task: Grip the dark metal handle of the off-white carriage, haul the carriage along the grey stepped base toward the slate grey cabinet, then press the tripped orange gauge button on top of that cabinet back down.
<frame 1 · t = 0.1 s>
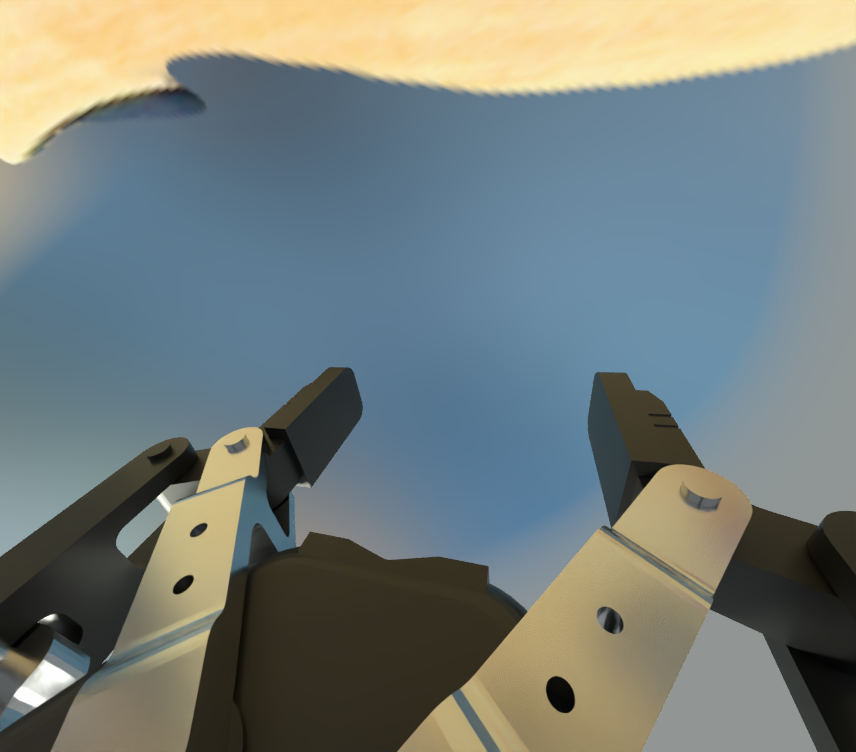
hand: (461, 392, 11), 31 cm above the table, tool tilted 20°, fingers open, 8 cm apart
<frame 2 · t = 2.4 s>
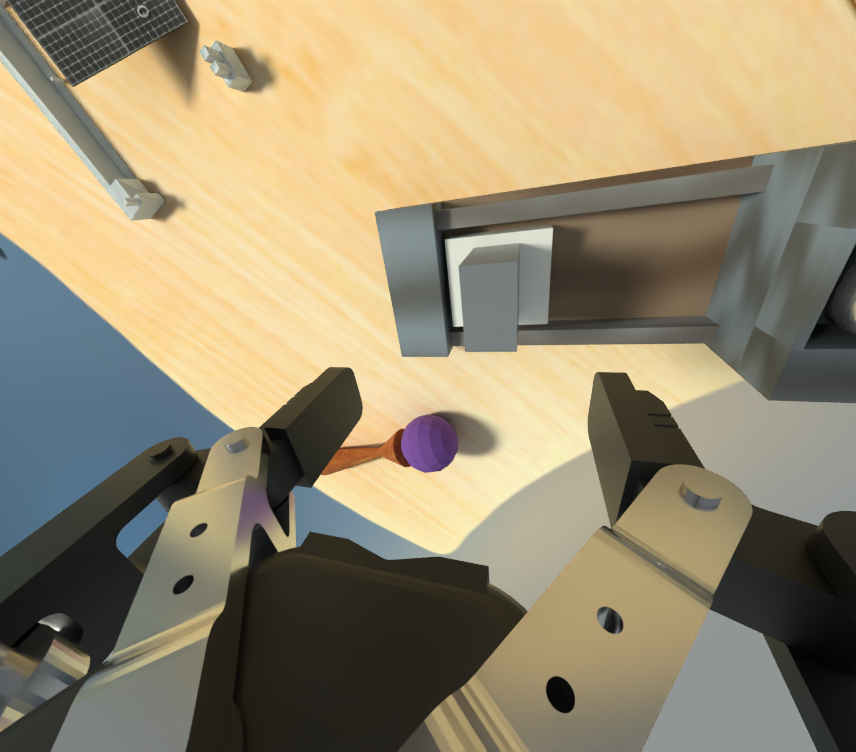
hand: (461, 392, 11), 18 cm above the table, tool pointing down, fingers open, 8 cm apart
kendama: (388, 437, 39), on the table
carriage: (495, 290, 21), point 6 cm above the table, slide at 0.0 cm
grey stepped base: (582, 264, 24), on the table
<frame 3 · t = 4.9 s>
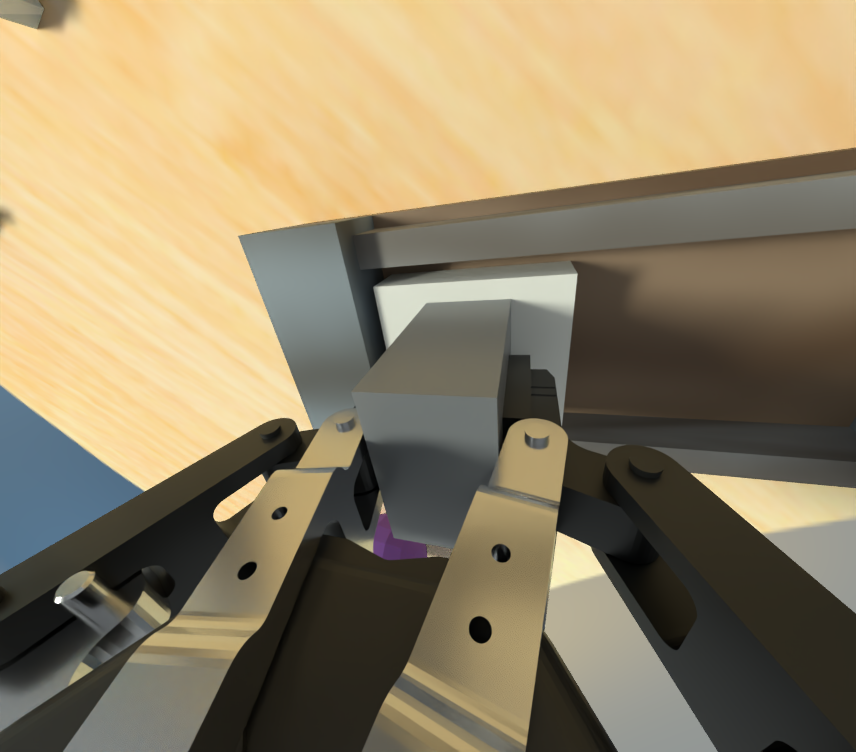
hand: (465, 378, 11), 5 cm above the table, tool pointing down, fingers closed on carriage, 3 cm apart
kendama: (339, 525, 29), on the table
carriage: (462, 391, 11), point 6 cm above the table, slide at 0.0 cm, touching gripper
grey stepped base: (620, 324, 14), on the table
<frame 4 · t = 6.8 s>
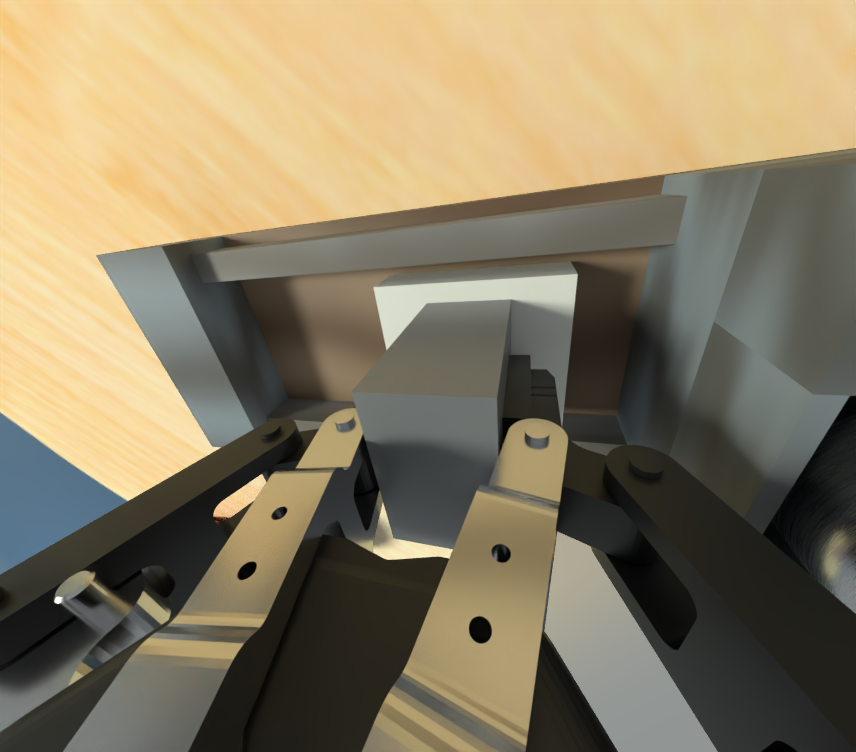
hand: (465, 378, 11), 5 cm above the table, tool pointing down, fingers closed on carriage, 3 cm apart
carriage: (462, 391, 11), point 6 cm above the table, slide at 8.0 cm, touching gripper
grey stepped base: (444, 328, 16), on the table
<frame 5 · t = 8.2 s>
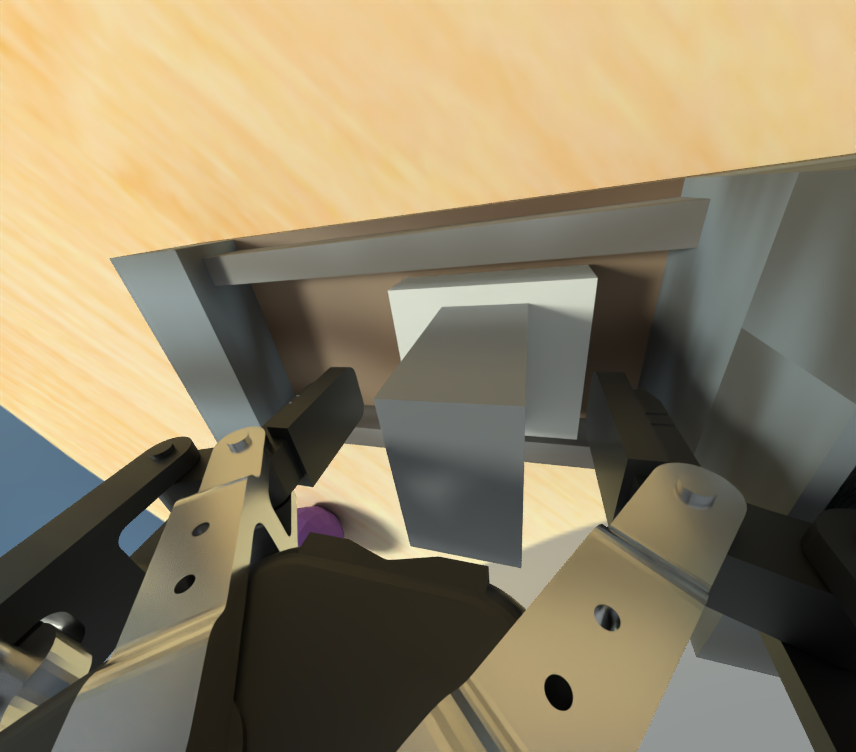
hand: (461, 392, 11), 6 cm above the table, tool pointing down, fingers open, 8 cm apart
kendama: (276, 516, 32), on the table
carriage: (478, 396, 11), point 6 cm above the table, slide at 8.0 cm
grey stepped base: (454, 331, 16), on the table
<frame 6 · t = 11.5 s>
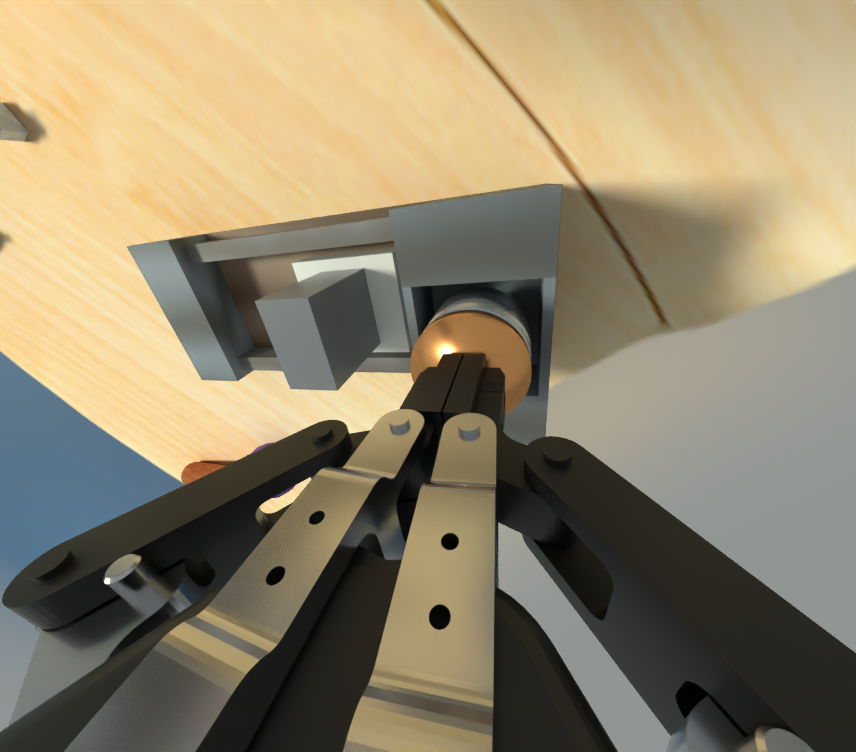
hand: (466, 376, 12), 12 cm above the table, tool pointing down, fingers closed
gauge button: (474, 352, 13), point 10 cm above the table, slide at -0.1 cm, touching gripper
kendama: (252, 456, 41), on the table
carriage: (337, 319, 19), point 6 cm above the table, slide at 8.0 cm
grey stepped base: (351, 293, 25), on the table
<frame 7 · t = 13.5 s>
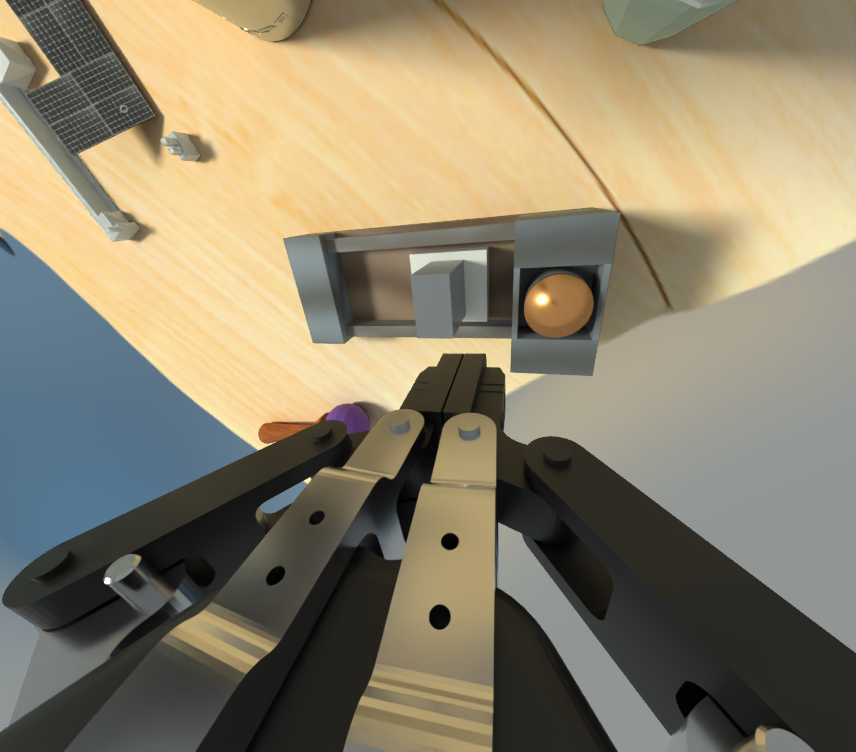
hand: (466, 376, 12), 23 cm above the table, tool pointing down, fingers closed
gauge button: (555, 300, 23), point 8 cm above the table, slide at 1.9 cm
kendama: (321, 418, 49), on the table
carriage: (444, 294, 28), point 6 cm above the table, slide at 8.0 cm
grey stepped base: (437, 280, 33), on the table
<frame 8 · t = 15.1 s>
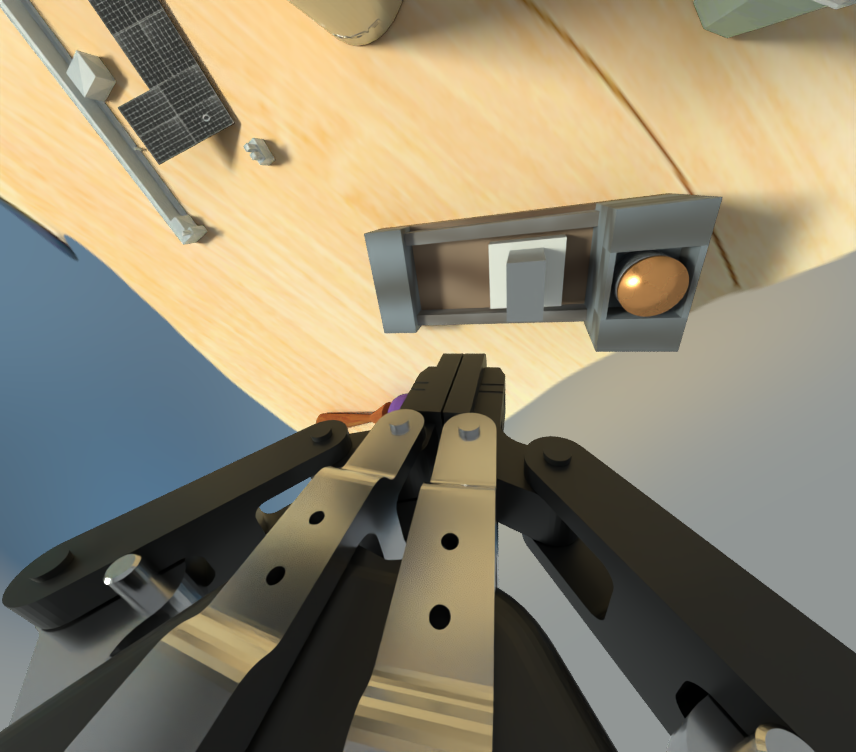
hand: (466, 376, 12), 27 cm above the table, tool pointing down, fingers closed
gauge button: (645, 282, 25), point 8 cm above the table, slide at 1.9 cm
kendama: (376, 408, 51), on the table
carriage: (525, 281, 29), point 6 cm above the table, slide at 8.0 cm
grey stepped base: (506, 268, 35), on the table
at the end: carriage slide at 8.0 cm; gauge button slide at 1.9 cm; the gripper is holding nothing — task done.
